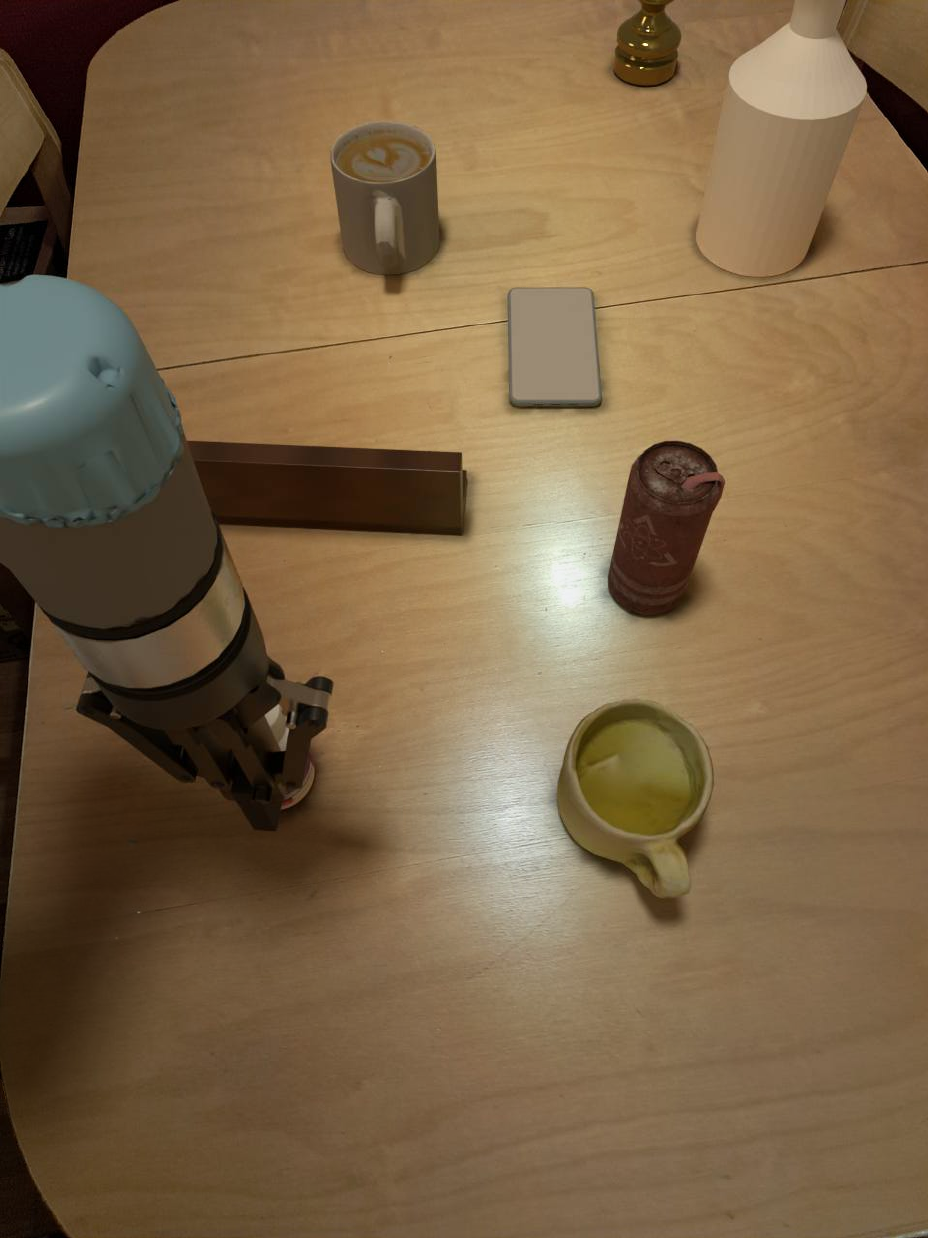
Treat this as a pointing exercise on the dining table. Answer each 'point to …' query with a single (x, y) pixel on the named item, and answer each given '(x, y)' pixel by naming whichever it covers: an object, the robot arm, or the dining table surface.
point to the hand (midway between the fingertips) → (269, 810)
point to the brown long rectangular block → (332, 487)
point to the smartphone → (553, 347)
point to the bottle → (780, 144)
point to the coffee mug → (386, 196)
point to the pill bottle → (281, 734)
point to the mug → (636, 789)
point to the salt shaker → (647, 45)
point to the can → (663, 525)
